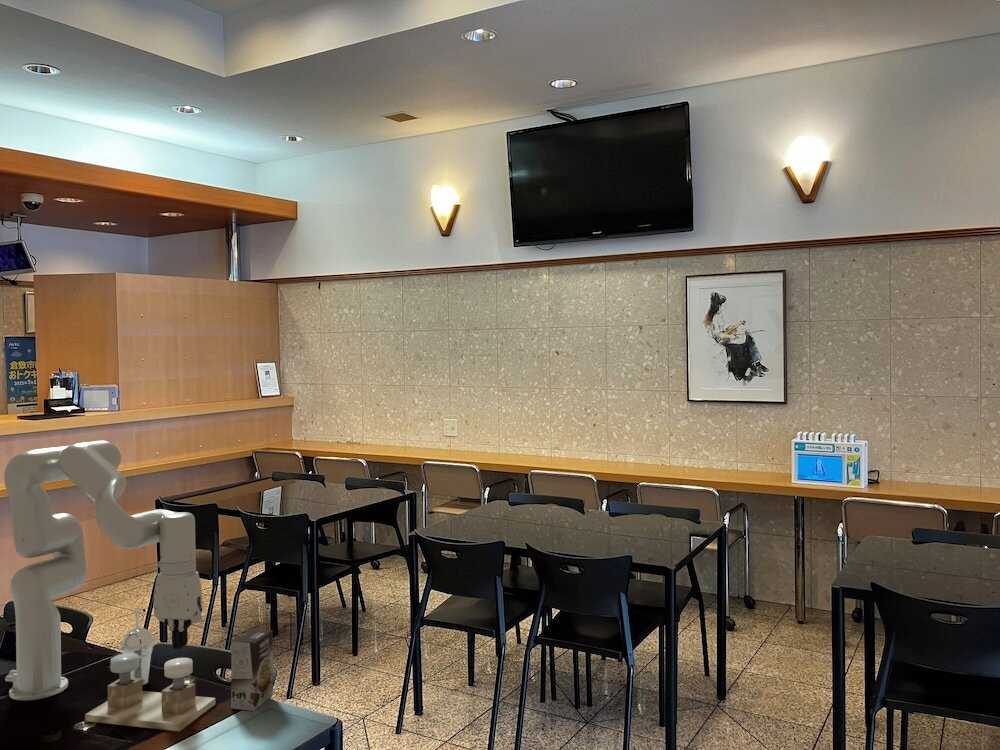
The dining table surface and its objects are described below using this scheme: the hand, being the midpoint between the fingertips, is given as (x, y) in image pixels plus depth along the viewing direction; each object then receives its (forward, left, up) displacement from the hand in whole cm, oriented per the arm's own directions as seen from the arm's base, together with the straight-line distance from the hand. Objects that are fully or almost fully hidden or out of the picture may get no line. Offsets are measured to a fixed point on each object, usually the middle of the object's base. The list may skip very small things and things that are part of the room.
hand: (179, 646), depth 181 cm
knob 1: (-14, 0, -11) cm, 18 cm away
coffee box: (+13, +10, -16) cm, 23 cm away
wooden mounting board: (-7, 0, -16) cm, 18 cm away
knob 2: (0, 0, -11) cm, 11 cm away
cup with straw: (-21, +14, -16) cm, 30 cm away
